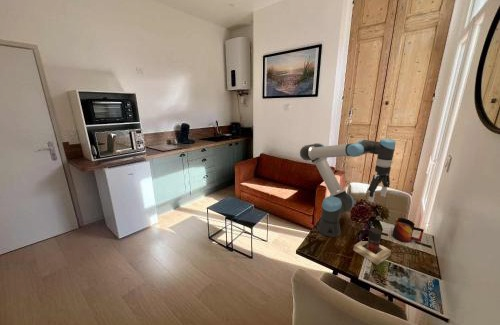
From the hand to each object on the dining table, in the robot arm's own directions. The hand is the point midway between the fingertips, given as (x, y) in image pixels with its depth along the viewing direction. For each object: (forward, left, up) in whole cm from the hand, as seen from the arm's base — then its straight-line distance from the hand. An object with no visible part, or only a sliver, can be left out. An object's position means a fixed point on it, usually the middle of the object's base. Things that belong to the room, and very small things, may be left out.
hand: (376, 198), depth 125 cm
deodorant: (+8, -12, -29) cm, 32 cm away
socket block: (+8, -12, -29) cm, 32 cm away
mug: (+12, +20, -29) cm, 37 cm away
